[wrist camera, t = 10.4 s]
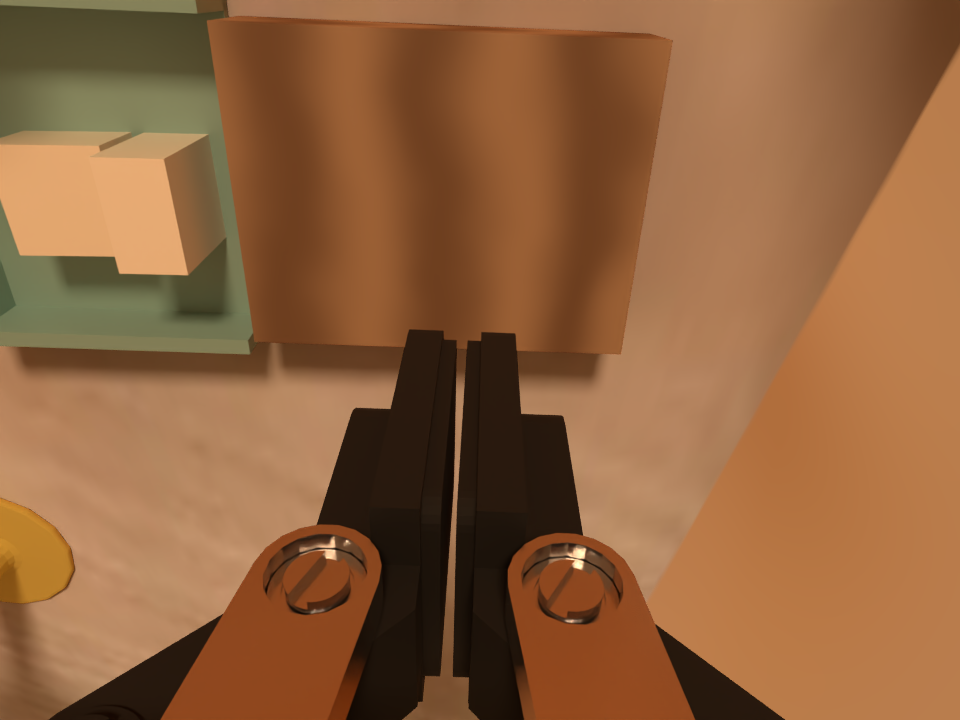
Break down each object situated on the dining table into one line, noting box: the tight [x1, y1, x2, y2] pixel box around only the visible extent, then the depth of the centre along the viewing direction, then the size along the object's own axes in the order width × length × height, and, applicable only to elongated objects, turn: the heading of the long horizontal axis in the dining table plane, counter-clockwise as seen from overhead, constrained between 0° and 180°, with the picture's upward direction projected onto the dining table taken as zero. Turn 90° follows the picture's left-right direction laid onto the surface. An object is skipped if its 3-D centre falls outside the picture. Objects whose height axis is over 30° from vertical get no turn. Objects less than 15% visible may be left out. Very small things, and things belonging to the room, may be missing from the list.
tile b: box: [0, 131, 132, 257], centre depth 31 cm, size 5×5×3 cm
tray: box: [0, 0, 258, 354], centre depth 31 cm, size 14×16×4 cm
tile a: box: [89, 133, 226, 275], centre depth 30 cm, size 5×5×3 cm
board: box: [207, 16, 673, 354], centre depth 31 cm, size 18×14×4 cm
